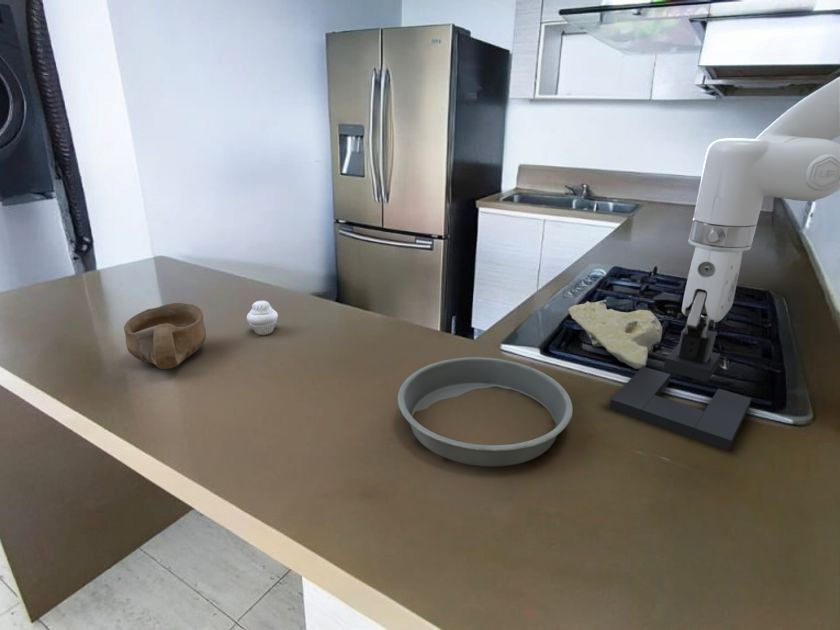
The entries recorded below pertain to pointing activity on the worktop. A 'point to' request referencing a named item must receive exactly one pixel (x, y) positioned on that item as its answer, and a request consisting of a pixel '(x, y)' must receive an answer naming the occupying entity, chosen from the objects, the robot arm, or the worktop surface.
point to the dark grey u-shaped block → (682, 409)
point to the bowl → (165, 334)
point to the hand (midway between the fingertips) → (694, 354)
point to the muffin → (262, 318)
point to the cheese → (619, 331)
